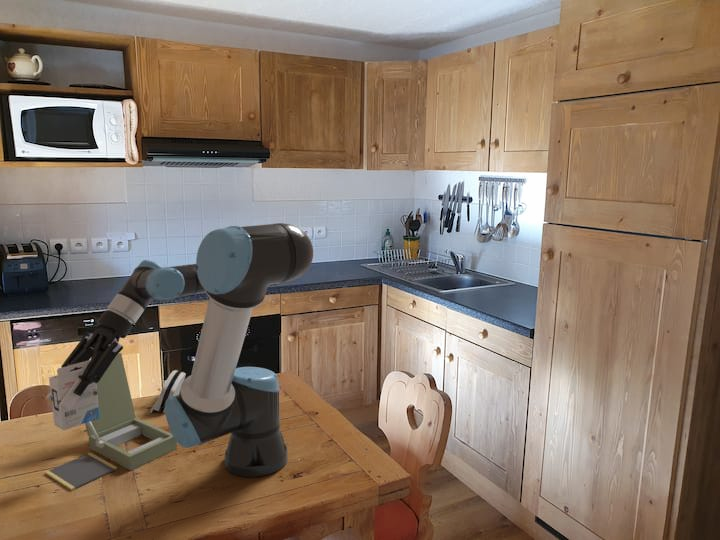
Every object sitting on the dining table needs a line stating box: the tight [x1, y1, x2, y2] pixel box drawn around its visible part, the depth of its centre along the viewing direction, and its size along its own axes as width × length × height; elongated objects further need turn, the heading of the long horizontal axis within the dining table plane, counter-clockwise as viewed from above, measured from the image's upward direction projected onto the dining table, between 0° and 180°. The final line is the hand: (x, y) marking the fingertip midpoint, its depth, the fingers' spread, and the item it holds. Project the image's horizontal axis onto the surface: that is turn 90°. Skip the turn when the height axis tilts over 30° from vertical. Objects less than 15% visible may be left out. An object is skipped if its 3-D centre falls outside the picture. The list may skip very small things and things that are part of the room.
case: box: [84, 352, 178, 471], centre depth 141 cm, size 23×14×21 cm, turn 55°
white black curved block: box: [149, 369, 187, 414], centre depth 169 cm, size 17×5×10 cm, turn 4°
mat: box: [44, 452, 119, 492], centre depth 131 cm, size 12×11×1 cm
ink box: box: [48, 359, 99, 431], centre depth 127 cm, size 8×5×15 cm, turn 141°
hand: (58, 403), depth 125 cm, fingers closed on ink box, 5 cm apart
